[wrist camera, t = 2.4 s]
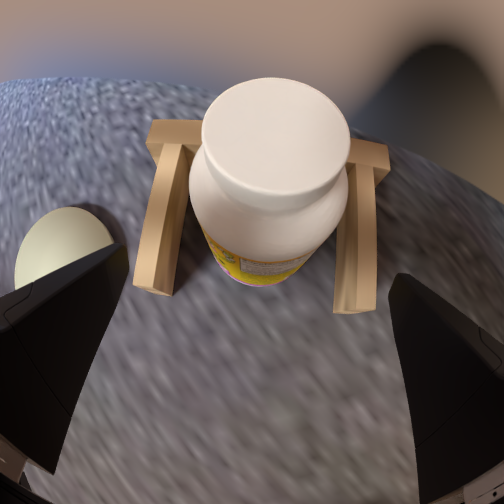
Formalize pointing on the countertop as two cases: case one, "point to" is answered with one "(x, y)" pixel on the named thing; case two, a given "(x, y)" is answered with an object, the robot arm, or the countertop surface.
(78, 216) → the coaster
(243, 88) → the supplement bottle
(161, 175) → the tan u-shaped block
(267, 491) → the countertop surface
